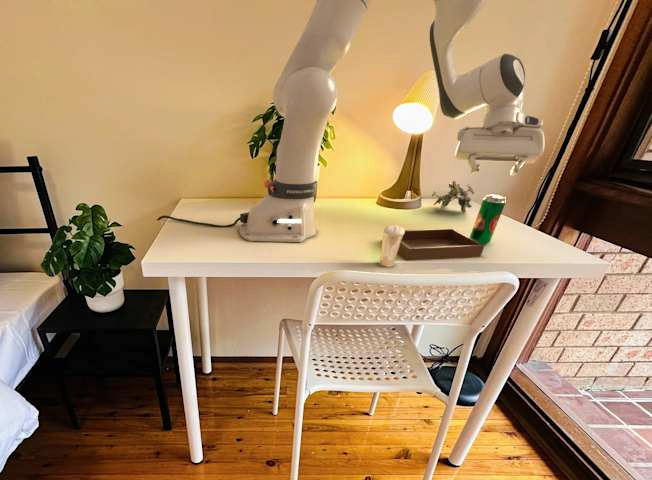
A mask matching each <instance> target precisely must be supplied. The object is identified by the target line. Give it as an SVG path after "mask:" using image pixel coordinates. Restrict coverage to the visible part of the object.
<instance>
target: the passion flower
mask: <svg viewBox="0 0 652 480" xmlns="http://www.w3.org/2000/svg"><path fill="white" fill-rule="evenodd" d="M466 186H467V188H468V189H467V190H464V188H462V186H461V185H460V183H458V182H456V181H455V180H453V181H452V183H451V182H449V183H448V187H449V189H450V191H448V193H447V194H444V195H441V196H439V195H438V194H437V192H436V191H433V193H432V195H431V198H434V196H436V197H438V198H437V199H436V200H435V202H434V203H433V206H436V205H437V204H438V205H441V206H440V208H439V209H438V212H440V211H441V210H442V209H443V208H445V207H448V206H449V204H450V203H451V201H454V200H455V199H456V200H458V201H457V203H458V205H459V206H460V212H461V213H463V214H465V213H466V212H467V210H466V208H468V209H470V208H472V205H471V204H472V198H471V197H470V196H468V195H469V194H470V193H471V195H475V191H474V189H473V186H471V185H470V184H466ZM469 192H470V193H469ZM441 202H442V203H441Z"/></svg>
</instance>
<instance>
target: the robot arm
mask: <svg viewBox="0 0 652 480" xmlns="http://www.w3.org/2000/svg"><path fill="white" fill-rule="evenodd" d="M486 1H487V0H433V2H434V7H435V8H434V9H435V15H434V20H433V21H432V23H431V24H430V27H429V46H430V53H431V58H432V63H433V69H434V73H435V78H436V82H437V88H438V97H439V107H440V110H441V113H442V115H443V116H445V117H446V118H449V119H452V120H458V119H460V118H462V117H464V116H465V115H468V114H470V113H471V112H473V111H475V110H477V109H481V108H483V107H485V108H484V111H485V115H484V117H483V121H482V126H465V127H464V128H461V129H460V130H459V131H458V132H457V138H456V139H457V141H458V144H457V147H456V150H455V152H454V157H455V159H456V160H457V161H468V162H467V164H468V165H469V167H470V169H471V170H470V171H471V172H470V174H479V172H480V169H481V168H480V167H481V164H479V163H477V162H497V163H503V162H504V163H516V164H515V165H513V166H512V168H511V170H510V176H518V175H519V174H520V171H521V167H522V166H523V165H524V164H535V163H536V162H537V161H538V160H539V159H540V158H541V157H542V156H543V154H544V151H545V133H544V130H542V129H541V128H542V126H543V125H544V119H542V118H539V117H535V116H532V115H530V114H527V113H524V112H523V109H522V108H523V105H524V103H525V95H526V71H525V67H524V64H523V62H522V61H521V59H520V58H519V57H517V56H515V55H513V54H510V53H503V54H501V55H499V56H496V57H494V58H493V59H490V60H489V61H487V62H484V63H483V64H481V65H479V66H477V67H476V68H474V69H472V70H469V71H468V72H466V73H463V74H458V73H457V70H456V64H455V58H454V52H453V42H454V41H455V39H456V38H457V37H458V36H459V35H460V34H461V32H462V31H464V29H465V28H466V27H467V26H468V25H469V24H470V23H471V22H472V21H473V20H474V19H475V18H476V16H477V15H478V14H479V12H480V11H481V10H482V8H483V6H484V5H485V3H486ZM371 2H372V0H316V1H315V4H314V6H313V9H312V10H311V13H310V15H309V18H308V20H307V23H306V25H305V27H304V29H303V32H302V34H301V36H300V38H299V40H298V41H297V43H296V45H295V46H294V49H293V50H292V52H291V54H290V56H289V58H288V60H287V62H286V64H285V66H284V67H283V70H282V72H281V74H280V75H279V78H278V79H277V81H276V82H275V84H274V86H273V90H272V102H273V105H274V108H275V110H276V111H277V113H278V114H279V115H280V116H281V117H282V118H283V119H284V120H283V126H282V129H281V135H280V140H279V143H278V145H277V148H276V162H275V179H274V180H272V181H271V180H270V179H266V180H265V181H264V184H263V185H264V187H265V188H266V189H267V195H266V196H264V197H263V198H262V199H260V200H259V201H258V202H256V203H255V204H254V205H253V206H251V207H250V209H249V211H248V212H243V213H239V217H237V219H236V220H234V222H233V223H230V224H225V225H224V224H223V225H220V224H213V223H210V222H209V223H208V222H202V221H201V222H200V221H194V220H189V219H183V218H177V217H174V216H170V215H161V216H159V217H158V218H157V219H156V221H160V220H162V219H168V220H169V219H170V220H173V221H175V222H181V223H182V222H183V223H189V224H193V225H198V226H199V225H200V226H206V227H213V228H232V227H234V226H236V225H237V224H238V223H239V222H240V223H242V224H241V225H239V234H240V236H241V237H242V238H243V239H244V240H246V241H248V242H275V243H278V242H279V243H280V242H281V243H303V242H304V241H305V240H306V239H309V238H311V237H313V236H315V235H317V228H316V221H315V202H316V199H317V194H318V180H317V176H318V175H317V174H318V166H319V157H320V150H321V146H322V142H323V138H324V134H325V132H326V128H327V124H328V122H329V118H330V115H331V114H332V113H333V111H334V109H335V108H336V105H337V102H338V96H339V89H338V85H337V81H336V80H335V78H334V77H333V76H332V74H333V72H334V70H335V69H336V67H337V66H338V64H339V63H340V62H341V60H343V58H345V56H347V53H348V52H349V50H350V48H351V45H352V44H353V41H354V40H355V37H356V35H357V33H358V31H359V28H360V26H361V24H362V22H363V19H364V17H365V15H366V13H367V11H368V9H369V7H370V4H371Z"/></svg>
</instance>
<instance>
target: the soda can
mask: <svg viewBox="0 0 652 480" xmlns="http://www.w3.org/2000/svg"><path fill="white" fill-rule="evenodd" d="M506 199H507V197H506V196H504V195H500V194H487V195H486V196H485V197H484V198H482V202H481V205H480V207H479V210H478V213H477V216H476V218H475V221H474V224H473V227H472V229H471V232H470V235H469V237H470V238H472V239H474V240H475V241H477V242H479V243H481V244H483V245H485V246H486V245H488V244H489V243H491V241H492V238H493V235H494V233H495V231H496V228H497V226H498V223H499V221H500V218H501V215H502V213H503V210H504V208H505V205H506V203H507V202H506V201H507V200H506Z"/></svg>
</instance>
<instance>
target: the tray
mask: <svg viewBox="0 0 652 480" xmlns="http://www.w3.org/2000/svg"><path fill="white" fill-rule="evenodd" d="M404 231H405V233H404V236H403V239H402V241H401V244H400V247H399V249H398V252H397V255H399V256H400V257H402V258H403V259H404V260H405V261H418V260H441V259H461V258H479V257H482V254H483V251H484V249H485V246H486V244H485V245H483V244H481V243H479V242H477V241H475V240H474V239H472V238H470V236H468V235H466V234H464V233H462V232H461V231H458V230H457V229H455V228H453V227H450V228H431V229H430V228H428V229H404Z"/></svg>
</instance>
